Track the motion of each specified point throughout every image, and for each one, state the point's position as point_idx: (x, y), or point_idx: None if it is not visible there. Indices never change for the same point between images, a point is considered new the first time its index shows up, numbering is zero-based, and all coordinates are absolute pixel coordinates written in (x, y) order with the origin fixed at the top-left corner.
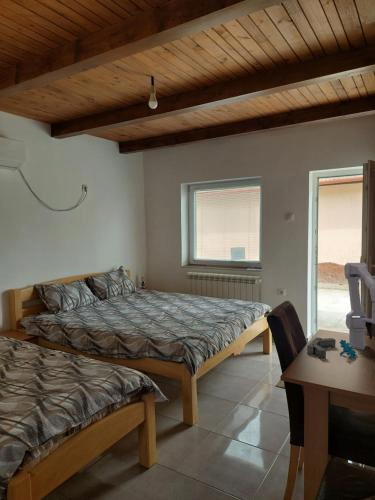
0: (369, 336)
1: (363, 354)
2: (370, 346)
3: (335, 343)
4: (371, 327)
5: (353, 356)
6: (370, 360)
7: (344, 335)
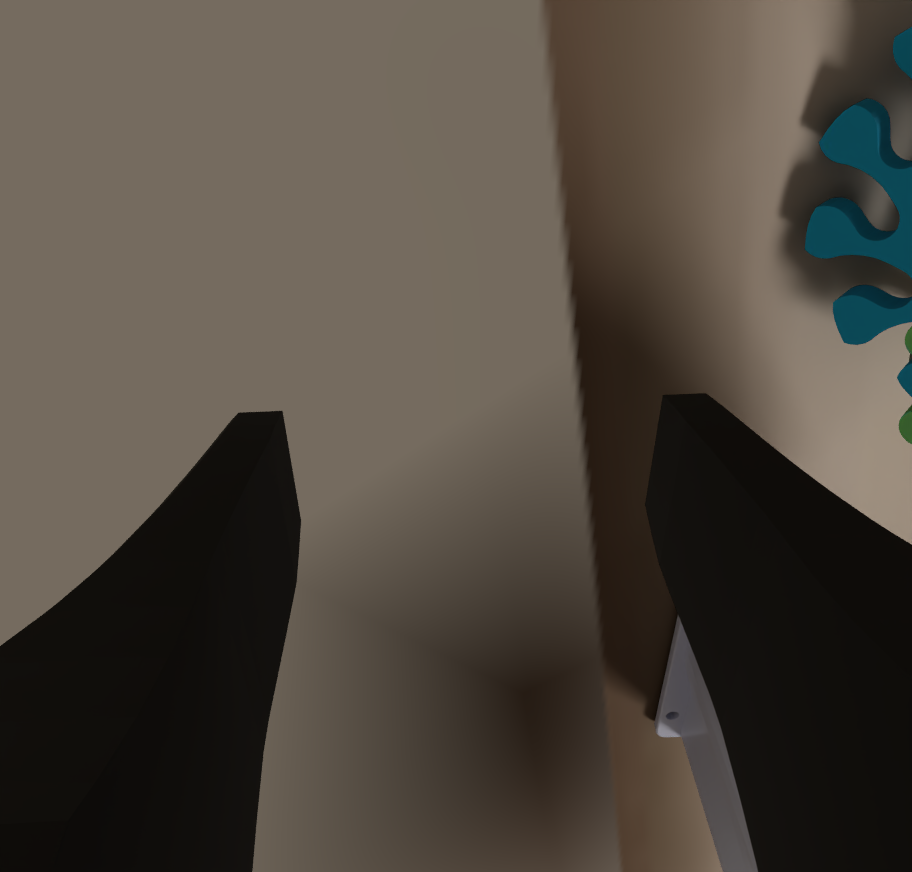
0: (757, 437)
1: None
2: (606, 709)
3: None
4: (838, 790)
5: (881, 117)
6: (560, 196)
7: None
